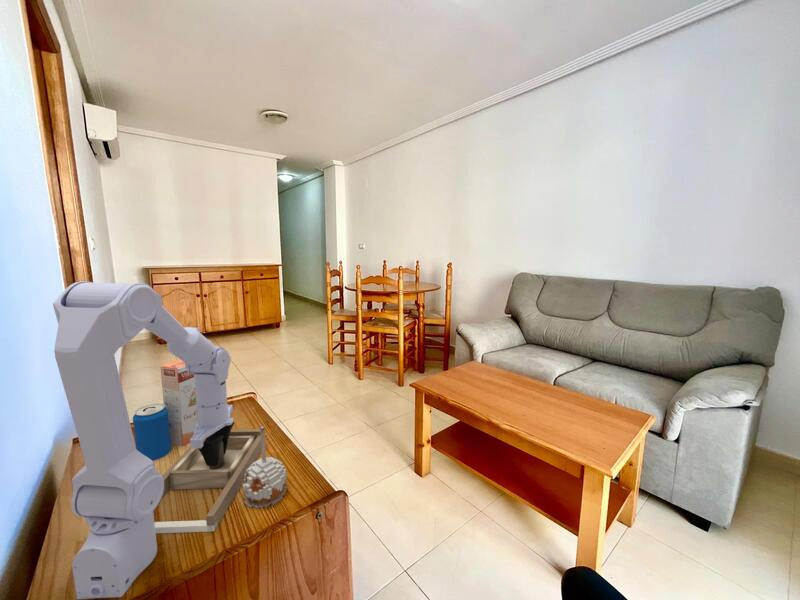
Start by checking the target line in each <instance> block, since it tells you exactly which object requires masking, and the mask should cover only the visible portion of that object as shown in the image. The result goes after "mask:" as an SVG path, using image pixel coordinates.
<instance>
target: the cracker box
mask: <svg viewBox="0 0 800 600" xmlns="http://www.w3.org/2000/svg"><path fill="white" fill-rule="evenodd" d="M160 377H161V388H162V389H161V390H162V391H161V392H162V401H163V403H162V404H164V405H165V408H167V410H168V419H169V430H170V440H171V445H175V446H176V445H177V446H181V447H185V446H187V445H188V444H190V439H191V438H192V437H193V435H194V432H195V428H196V425H197V423H198V418H197V406H196V393H195V381H194V373H188V372H187V370H186V366H185V363H184V362H183V361H182V360H181V359H179V358H178V359H176V360H174V361H170V362H167V363H164V364H161V365H160Z"/></svg>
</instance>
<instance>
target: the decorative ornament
mask: <svg viewBox="0 0 800 600" xmlns="http://www.w3.org/2000/svg"><path fill="white" fill-rule="evenodd" d="M259 429H260V433H261V452H260V453H261V458H259V459H256V461H255V462H253V464H251V466H250V467H249V468H247V470H246V474H245V479H244V481H243V483H242V491H243V492H244V496H243V499H244V500H245V501H243V503H244V505H246V506H247V507H249V508H250V509H251V508H252V507H253V508H255V509H259V508H260V509H263V508H267V507H268V506H270V505H271V506H274V505H276V504H277V503H278V502H280V501H281V500H283V496H285V495H286V494H287V493H286V492H287V489H288V488H287V486H286V485H287V480H288V479H287V469H286V466H285V465H283V462H282V461H280V460H279V459H277V458H274V457H273V456H269V457H267V452H266V449H267V447H266V428H265V426H261V427H260V428H259Z"/></svg>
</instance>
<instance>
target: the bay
mask: <svg viewBox="0 0 800 600" xmlns="http://www.w3.org/2000/svg"><path fill="white" fill-rule="evenodd" d="M229 436H255V441H254V443H253V444H252V446H251V447H250V449H249V450H248V452H247V454H246V455H245V457H244V458H243V460H242V461H241V463H240V464H239V466H238V468H237V469H236V471H235V472H234V474H233V475H232V477H231V478H230V480H229V481H228V483H227V485H226V486H225V488H222V491H221V492H220V494H219V496H218V497H217V499H216V500H215V502H214V503H213V504H212V506H211V507H210V509H209V511H208V513H207V514H206V516H205V519H202V520H199V519H198V520H178V521H177V520H174V521H154V523H155V532H156V535H157V534H175V533H176V534H179V533H182V534H183V533H184V534H185V533H205V532H206V533H208V532H215V531H216V530H217V527H218V526H219V525H220V523H221V521H222V519H223V517H224V516H225V514H226V512H227V511H228V509H229V507H230V506H231V504H232V502H233V500H235V499H234V498H235V497H236V495H237V493H238V492H239V490H240V489H241V486H243V484H244V479H245V474H246V470H247V468H249V467H250V466H251V464H253V462H255V461H257V460H258V457H259V456H260V455H261V454H260V453H262V452H261V433H260V428H240V429H239V428H238V429H237V428H235V429H233V428H232V429H231V432H230V435H229ZM190 450H191V446H189V447H188V448H187V449H186V450H185V451H184V452H183V453H182V454H181V455H180V456H179V458H177V460H175V462H174V463H173V464H172V465H171V466H170V467H169V468H168V469H167V470H166V471H165V472H164V473H163V475H162V474H161V475H162V476H163V479H164V491H163V495H162V497H161V499H162V498H164V497H165V495H166V494H168V491H170V490H171V489H170V479H169V473H170V472H171V471H172V469H173V468H174V467H175V466H176V465H177V464H178V463H179V462H180V461H181V460H182V459H183V458H184V457H185V456H186V454H187V453H188V452H189V451H190Z"/></svg>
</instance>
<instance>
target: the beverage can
mask: <svg viewBox="0 0 800 600" xmlns="http://www.w3.org/2000/svg"><path fill="white" fill-rule="evenodd" d="M132 423H133V433H134V434H133V435H134V441H135V446H136V449H137V450H138V451H139V452H140V453H142V454H143V455H145V456H146V457H148V458H149V459H151V460H152V461H153V462H154V461H157V460H160V459H162V458H163V457H165V456H167V455H169V453H170V452H171V451H172V444H171V440H170V430H169V419H168V410H167V408H165V405H164V403H149V404H145V405H143V406H140V407H139V408H137V409H135V411H134V414H133V416H132Z"/></svg>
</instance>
